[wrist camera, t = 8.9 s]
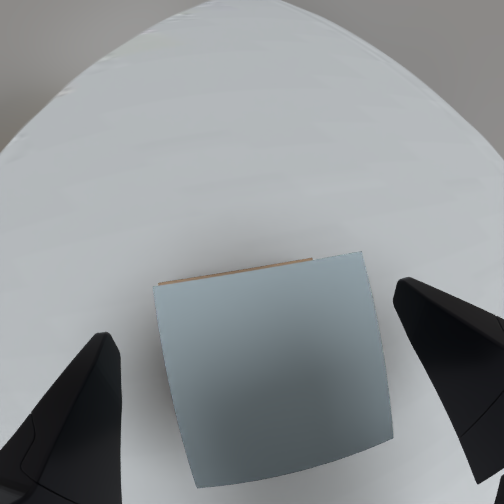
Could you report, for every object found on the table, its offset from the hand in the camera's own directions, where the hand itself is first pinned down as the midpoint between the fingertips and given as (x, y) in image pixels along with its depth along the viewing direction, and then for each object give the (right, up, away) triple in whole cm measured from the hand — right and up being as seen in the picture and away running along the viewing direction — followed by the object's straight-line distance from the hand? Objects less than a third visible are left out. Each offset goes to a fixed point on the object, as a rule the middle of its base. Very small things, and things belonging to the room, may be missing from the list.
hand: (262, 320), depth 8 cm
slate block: (0, -3, +7) cm, 8 cm away
